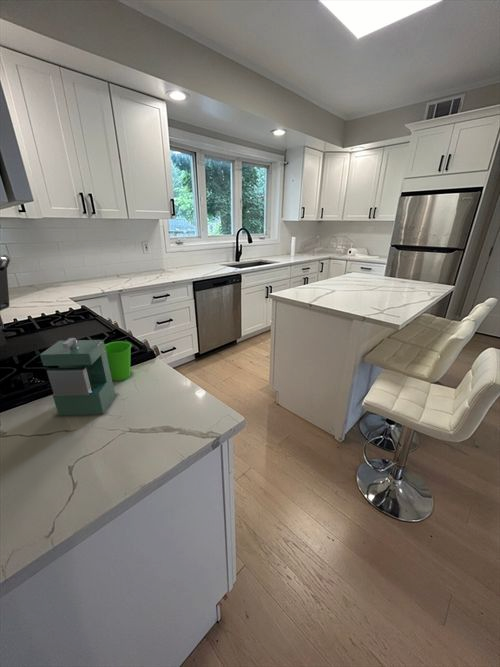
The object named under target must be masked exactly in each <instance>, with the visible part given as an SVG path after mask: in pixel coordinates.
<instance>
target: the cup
mask: <svg viewBox="0 0 500 667" xmlns="http://www.w3.org/2000/svg"><path fill="white" fill-rule="evenodd" d="M104 345H105V349H106V354H107V359H108V364H109V368H110V373H111V378H112V381H114V382H115V381H116V382H120V381H125V380H127V379H128V378H130V376H131V348H132V347H133V345H132V343H131V342H129V341H126V340H117V341H112V342H111V341H110V342H108V343H104Z"/></svg>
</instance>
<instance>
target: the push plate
mask: <svg viewBox="0 0 500 667" xmlns="http://www.w3.org/2000/svg"><path fill="white" fill-rule="evenodd" d="M46 373H47V377H48V380H49V382H50V386H51V389H52V392H53V393H52V394H54V396H71V395H89V394H90V393H91V392H92V390H91V386H90V382H89V378H88V374H87V370H86V367H76V368H59V367H50V368H49V369H47V371H46Z"/></svg>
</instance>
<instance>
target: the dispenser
mask: <svg viewBox="0 0 500 667" xmlns="http://www.w3.org/2000/svg"><path fill="white" fill-rule="evenodd" d="M39 357H40V360H41V363H42V366H43V367H54V366H57V367H58V368H76V367H86V370H87V374H88V378H89V382H90V386H91V390H92V392H91V393H90V394H89V395H71V396H54V393H52V399H53V401H54V405H55V407H56V411H57V415H58V416H80V415H82V416H84V415H104V414H105V413H106V411H107V409H108V408H109V406H110V405H111V403H112V402H113V400H114V399H115V397H116V392H115V387H114V383H113V382H114V381H113V379H112V377H111V373H110V368H109V364H108V359H107V354H106V349H105V341H104V339H77V338H75V337H69V338H68V339H67V340H58V341H56V342H55V343H54V344H53V345H51V346H50V347H48V348H47V349H46V350H44V351H42V352H41V353H40V354H39Z"/></svg>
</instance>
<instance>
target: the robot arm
mask: <svg viewBox="0 0 500 667" xmlns="http://www.w3.org/2000/svg"><path fill="white" fill-rule="evenodd" d="M10 261H11V258H10V257H9V256H8V255H1V254H0V312H1V311H3V310H6V309H8V308H10V293H9V281H8V280H9V278H8V267H9V265H10ZM4 328H5V324H4V321H3V319H2V316H1V315H0V348H1V347H2V346H5V345H7V340H6V337H5V334H4V332H3V330H4Z"/></svg>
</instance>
